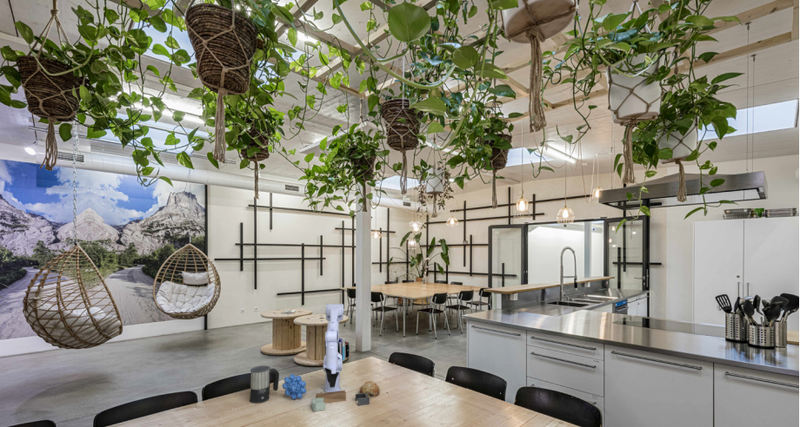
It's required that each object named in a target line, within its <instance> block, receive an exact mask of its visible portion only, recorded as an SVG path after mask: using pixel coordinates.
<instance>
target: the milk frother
mask: <svg viewBox="0 0 800 427" xmlns="http://www.w3.org/2000/svg"><path fill="white" fill-rule="evenodd" d="M249 372H250V393H249V395H250V396H249V402H250V403H252V404H262V403H264V402H265V403H266V402H267V401H268V400H270V394H271V393H270V391H271V389H270V388H271V384H270V383H271V375H272V374H273V380H272V383H273V384H272V390H273V391H275V392H277V391H278V389H279V382H280V381H279V380H280V373H279V371H278V369H276V368H271V366H269V365H259V366H254V367H252V368H250V371H249Z"/></svg>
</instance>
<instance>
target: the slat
mask: <svg viewBox="0 0 800 427" xmlns="http://www.w3.org/2000/svg"><path fill="white" fill-rule="evenodd" d="M315 398H324V401H323V402H325V405H326V404H333V403H341V402H346V401H347V392H346V390H341V391H335V392H327V393H326V392H320V393H315Z"/></svg>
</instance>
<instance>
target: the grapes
mask: <svg viewBox="0 0 800 427" xmlns="http://www.w3.org/2000/svg"><path fill="white" fill-rule="evenodd" d="M283 379H284V383H282V389H284V390H285V391H284V394H285V396H287V397H290V399H291V400H296V399H298V400H299V399H302V398H303V395H305V394H306V393H307V388H305V387H306V386H307V382H306V381H305V380H302V377H301V375H295V374H293V373H292V374H290V375H289V376H285V377H284V378H283Z"/></svg>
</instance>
